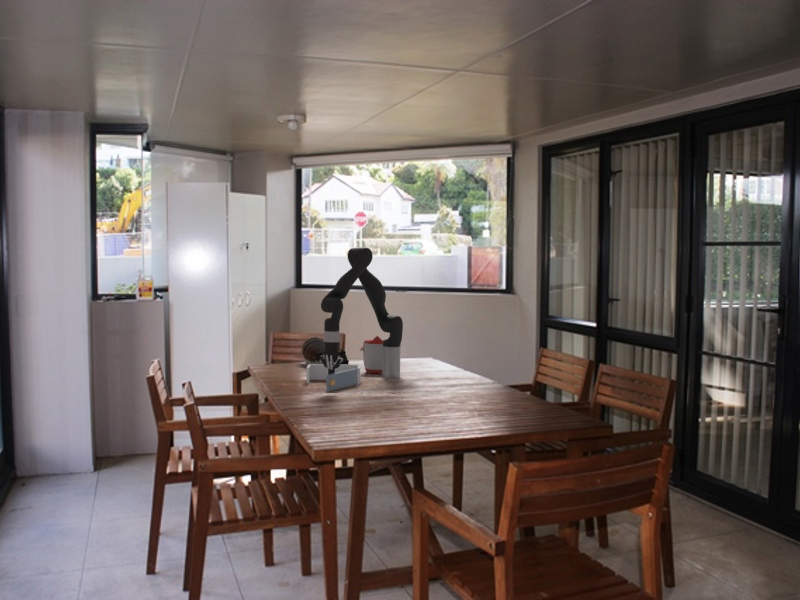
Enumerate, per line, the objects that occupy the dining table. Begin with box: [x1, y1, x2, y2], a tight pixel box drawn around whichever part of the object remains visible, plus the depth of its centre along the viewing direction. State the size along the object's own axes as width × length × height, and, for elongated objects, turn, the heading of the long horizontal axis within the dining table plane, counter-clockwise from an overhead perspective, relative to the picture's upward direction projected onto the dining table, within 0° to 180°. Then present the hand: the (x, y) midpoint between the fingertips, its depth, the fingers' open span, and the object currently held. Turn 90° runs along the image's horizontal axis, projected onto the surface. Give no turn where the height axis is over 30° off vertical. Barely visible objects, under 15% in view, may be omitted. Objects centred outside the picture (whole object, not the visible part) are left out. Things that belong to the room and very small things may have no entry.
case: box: [306, 364, 361, 385], centre depth 364 cm, size 12×26×9 cm, turn 93°
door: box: [325, 369, 358, 392], centre depth 349 cm, size 2×23×8 cm, turn 148°
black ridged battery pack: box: [339, 348, 350, 365], centre depth 381 cm, size 4×13×15 cm, turn 112°
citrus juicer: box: [359, 335, 385, 374], centre depth 401 cm, size 16×17×20 cm
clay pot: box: [301, 336, 324, 365], centre depth 419 cm, size 15×15×25 cm
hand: (331, 376), depth 346 cm, fingers closed
